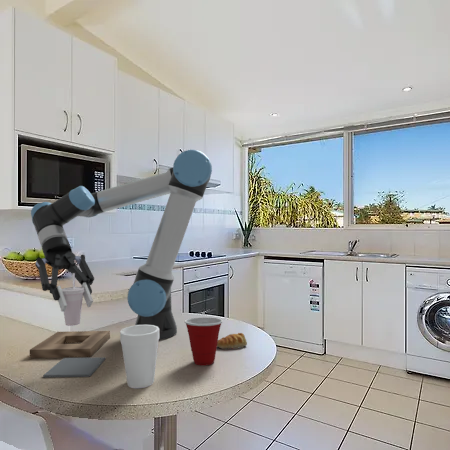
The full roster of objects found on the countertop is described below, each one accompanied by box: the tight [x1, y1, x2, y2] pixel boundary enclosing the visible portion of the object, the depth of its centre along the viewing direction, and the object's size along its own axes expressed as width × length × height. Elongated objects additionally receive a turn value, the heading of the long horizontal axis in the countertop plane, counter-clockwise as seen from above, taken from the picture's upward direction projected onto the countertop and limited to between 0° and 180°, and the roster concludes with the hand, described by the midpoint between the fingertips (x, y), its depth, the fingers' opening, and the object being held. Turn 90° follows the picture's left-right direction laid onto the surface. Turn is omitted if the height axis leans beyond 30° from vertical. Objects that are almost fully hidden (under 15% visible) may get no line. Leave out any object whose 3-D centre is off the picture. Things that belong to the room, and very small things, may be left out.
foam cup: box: [119, 324, 160, 389], centre depth 89 cm, size 10×9×13 cm
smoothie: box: [61, 273, 84, 327], centre depth 100 cm, size 6×6×14 cm
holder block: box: [29, 330, 111, 359], centre depth 116 cm, size 18×18×2 cm
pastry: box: [217, 332, 248, 350], centre depth 115 cm, size 9×7×4 cm
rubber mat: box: [42, 356, 106, 378], centre depth 99 cm, size 12×12×1 cm
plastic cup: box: [184, 316, 223, 367], centre depth 102 cm, size 11×11×12 cm
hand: (77, 306), depth 97 cm, fingers closed on smoothie, 6 cm apart
